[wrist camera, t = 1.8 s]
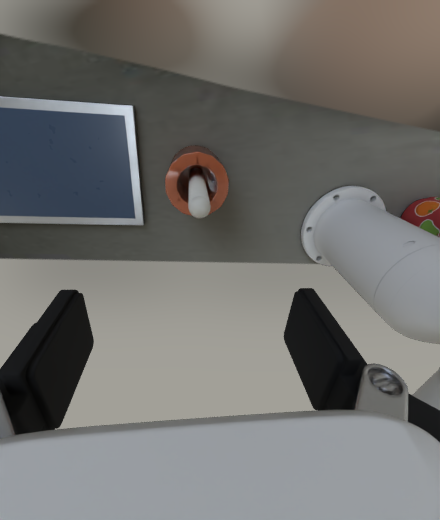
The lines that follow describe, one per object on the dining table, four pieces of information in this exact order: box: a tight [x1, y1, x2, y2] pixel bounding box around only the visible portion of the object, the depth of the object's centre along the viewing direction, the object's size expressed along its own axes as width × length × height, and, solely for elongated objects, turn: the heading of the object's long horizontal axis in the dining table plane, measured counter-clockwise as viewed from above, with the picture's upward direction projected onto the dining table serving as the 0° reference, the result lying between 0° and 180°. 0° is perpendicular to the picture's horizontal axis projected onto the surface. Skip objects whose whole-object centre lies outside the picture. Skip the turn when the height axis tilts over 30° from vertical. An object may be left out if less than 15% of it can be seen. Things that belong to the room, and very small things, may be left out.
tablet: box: [0, 96, 145, 225], centre depth 31 cm, size 20×14×1 cm
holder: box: [165, 145, 229, 216], centre depth 30 cm, size 7×7×7 cm
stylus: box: [188, 168, 211, 218], centre depth 26 cm, size 2×2×14 cm
